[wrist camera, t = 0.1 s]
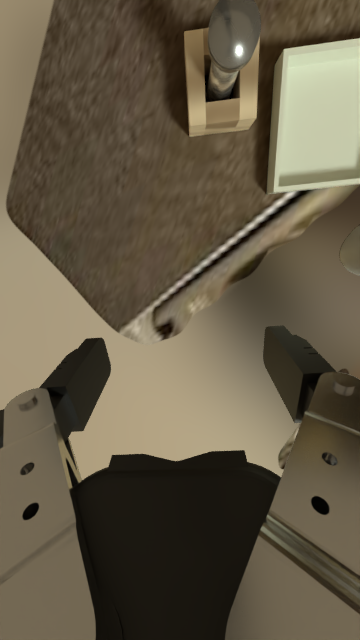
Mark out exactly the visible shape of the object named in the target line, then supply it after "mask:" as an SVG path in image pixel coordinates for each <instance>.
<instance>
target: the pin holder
mask: <svg viewBox="0 0 360 640" xmlns="http://www.w3.org/2000/svg"><path fill="white" fill-rule="evenodd" d="M208 29H209V28H204V29H197V30H190V31H184V56H185V73H186V90H187V107H188V123H189V137H192V136H200V135H208V134H216V133H224V132H232V131H241V130H248V129H249V128H250V126H251V125H252V123H253V122H254V121H255V119H256V116H257V91H258V67H259V42H260V36H259V40H258V43H257V46H256V48H255V51H254V53H253V55H252V57H251V59H250V61H249V62H248V63H247V65H246V66H245V67H243V68H242V69H241V70H239V72H238V74H237V77H236V80H235V83H234V85H233V99H229V100H221V101H214V102H206V103H205V75H209V74H210V67H211V61H212V60H211V58H210V55H209V52H208V44H207V38H208Z"/></svg>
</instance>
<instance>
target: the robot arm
mask: <svg viewBox="0 0 360 640" xmlns="http://www.w3.org/2000/svg"><path fill="white" fill-rule="evenodd" d="M263 359H264V364H265V367H266V369H267V371H268V373H269V375H270V377H271V379H272V381H273V383H274V384H275V386H276V388H277V390H278V392H279V394H280V396H281V398H282V400H283V402H284V404H285V405H286V407H287V409H288V411H289V413H290V415H291V417H292V419H293V421H294V423H301V424H300V427H299V430H298V433H297V435H296V438H295V441H294V444H293V446H292V449H291V452H290V455H289V458H288V460H287V463H286V466H285V469H284V472H283V474H282V477H280V476H278V475H277V474H275V473H273V472H272V471H270V470H268V469H266V468H264V467H262V466H258V465H256V464H253V463H249V462H247V459H246V455H245V451H244V450H242V451H241V450H240V451H215V452H214V451H212V452H208V453H205V454H201V455H198V456H194V457H191V458H188V459H185V460H182V461H171V460H167V459H163V458H158V457H154V456H150V455H146V454H132V455H131V454H129V455H112V458H111V461H110V464H109V467H107V468H104V469H102V470H100V471H97V472H95V473H94V474H92V475H90V476H88V477H87V478H85V479H84V480H82V479H81V476H80V473H79V469H78V466H77V462H76V459H75V456H74V453H73V449H72V446H71V442H70V440H69V438H68V437H69V435H70V433H71V432H74V431H83V430H84V428H85V426H86V424H87V422H88V420H89V418H90V416H91V414H92V412H93V409H94V407H95V405H96V403H97V401H98V399H99V397H100V395H101V393H102V391H103V388H104V386H105V384H106V382H107V380H108V378H109V376H110V372H111V365H110V361H109V357H108V353H107V349H106V346H105V342H104V340H103V339H102V338H91V339H85V341H84V342H83V343H82V344H81V345H80V347H79V348H78V349H76V350H74V351H73V352H71V353H70V354H68V355H67V356H66V357H65V358H64V359H63V360H62V362H61V364H59V365H58V366H57V368H56V370H54V371H53V372H52V374H51V375H50V376H49V377H48V378H47V379H46V380H45V382H44V383H43V384H42V385H41V386H40V387H39V388H36V389H31V390H28V391H26V392H24V393H21V394H20V395H18V396H16V397H15V398H14V399H12V400H11V401H10V402H9V403H8V404H7V406H6V407H5V409H4V410H0V640H360V380H359V379H358V378H356V377H354V376H351V375H348V374H345V373H341V372H336V371H335V370H334V369H333V368H332V367H331V366H330V364H329V363H327V361H326V360H325V359H324V358H322V356H321V355H320V354H318V352H317V351H316V350H315V349H314V348H313V347H312V346H311V345H310V344H309V343H308V342H307V341H306V340H305V339H303V338H301V337H299V336H297V335H292V334H291V333H290V332H289V331H288V330H287V329H286V328H285V327H284V326H270V327H266V329H265V338H264V351H263Z"/></svg>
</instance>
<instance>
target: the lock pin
mask: <svg viewBox="0 0 360 640" xmlns="http://www.w3.org/2000/svg"><path fill="white" fill-rule="evenodd" d="M260 30H261V19H260V13H259V10H258V7H257V5H256V3H255V1H254V0H220V1H219V2H218V3H217V5H216V6H215V8H214V10H213V13H212V15H211V18H210V23H209V29H208V38H207V44H208V52H209V55H210V58H211V60H212V61H211V67H210V74H209V80H208V86H207V92H206V99H207V102H214V101H221V100H228V99H229V97H230V94H231V91H232V88H233V85H234V83H235V80H236V77H237V74H238V72H239V70H241V69H242V68H243V67H245V66H246V65H247V63H248V62H249V61H250V59H251V57H252V55H253V53H254V51H255V48H256V46H257V43H258V40H259V36H260Z"/></svg>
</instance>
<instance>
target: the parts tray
mask: <svg viewBox="0 0 360 640" xmlns="http://www.w3.org/2000/svg"><path fill="white" fill-rule="evenodd" d="M350 185H360V38H358V39H351V40H344V41H337V42H330V43H323V44H316V45H309V46H302V47H295V48H288V49H284V50H283V52H282V53H281V55H280V57H279V58H278V60H277V62H276V64H275V65H274V79H273V96H272V112H271V128H270V144H269V160H268V177H267V193H266V194H274V193H283V192H293V191H302V190H312V189H321V188H331V187H341V186H350Z"/></svg>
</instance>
